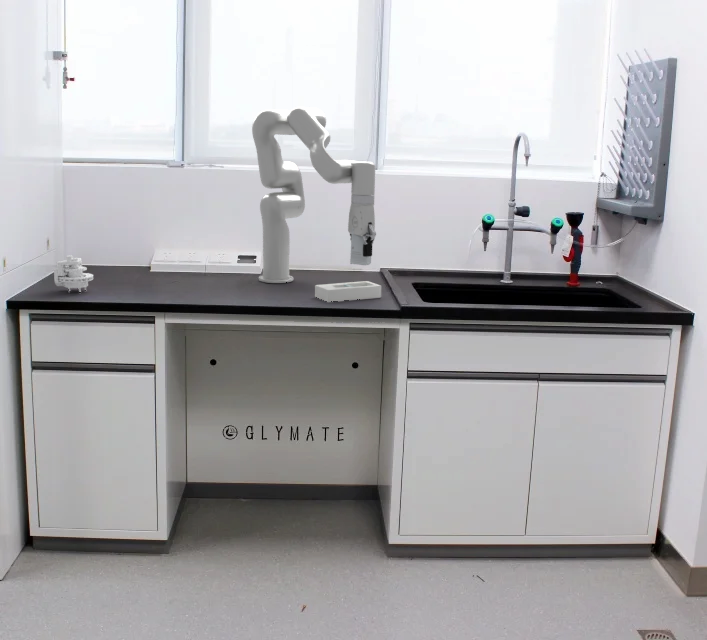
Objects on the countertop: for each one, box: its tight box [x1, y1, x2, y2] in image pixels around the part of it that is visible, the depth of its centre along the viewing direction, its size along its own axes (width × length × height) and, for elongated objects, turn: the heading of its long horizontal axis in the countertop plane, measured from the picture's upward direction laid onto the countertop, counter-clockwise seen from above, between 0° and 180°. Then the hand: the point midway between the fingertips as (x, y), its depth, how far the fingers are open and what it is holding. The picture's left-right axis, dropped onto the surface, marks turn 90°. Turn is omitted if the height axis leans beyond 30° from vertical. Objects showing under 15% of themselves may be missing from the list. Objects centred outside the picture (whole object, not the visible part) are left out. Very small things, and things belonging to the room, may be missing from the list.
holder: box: [314, 280, 382, 303], centre depth 261 cm, size 9×20×4 cm, turn 119°
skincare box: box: [349, 228, 372, 266], centre depth 260 cm, size 6×4×12 cm
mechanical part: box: [53, 254, 94, 293], centre depth 258 cm, size 11×12×12 cm
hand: (361, 254), depth 261 cm, fingers closed on skincare box, 7 cm apart
